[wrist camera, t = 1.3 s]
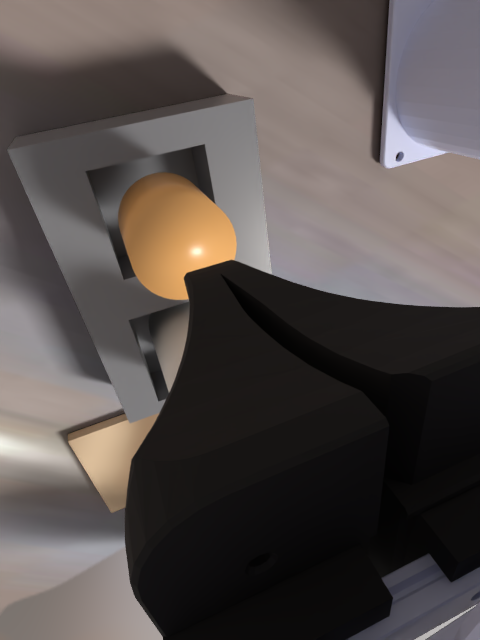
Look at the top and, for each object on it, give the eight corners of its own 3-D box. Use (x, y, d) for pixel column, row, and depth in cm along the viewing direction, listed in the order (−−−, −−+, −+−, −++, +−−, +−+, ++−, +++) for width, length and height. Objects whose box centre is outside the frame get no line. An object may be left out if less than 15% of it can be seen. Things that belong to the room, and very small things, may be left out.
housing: (228, 93, 18) (253, 98, 15) (261, 339, 26) (281, 367, 23) (15, 136, 16) (6, 149, 14) (123, 387, 24) (129, 423, 22)
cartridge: (213, 278, 22) (276, 370, 15) (225, 338, 24) (285, 440, 18) (137, 301, 21) (170, 409, 14) (158, 361, 23) (194, 477, 17)
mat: (194, 388, 26) (196, 394, 25) (215, 463, 31) (217, 469, 30) (67, 434, 24) (68, 441, 24) (110, 505, 29) (111, 513, 28)
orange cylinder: (198, 162, 15) (227, 184, 13) (214, 248, 18) (243, 282, 15) (105, 185, 15) (114, 213, 12) (133, 271, 17) (147, 312, 14)
